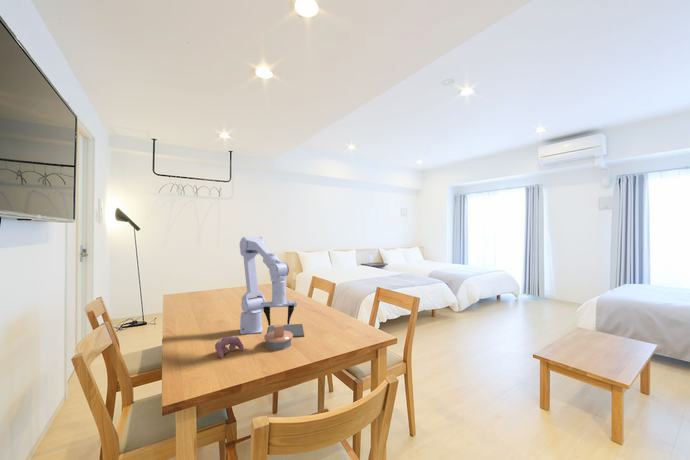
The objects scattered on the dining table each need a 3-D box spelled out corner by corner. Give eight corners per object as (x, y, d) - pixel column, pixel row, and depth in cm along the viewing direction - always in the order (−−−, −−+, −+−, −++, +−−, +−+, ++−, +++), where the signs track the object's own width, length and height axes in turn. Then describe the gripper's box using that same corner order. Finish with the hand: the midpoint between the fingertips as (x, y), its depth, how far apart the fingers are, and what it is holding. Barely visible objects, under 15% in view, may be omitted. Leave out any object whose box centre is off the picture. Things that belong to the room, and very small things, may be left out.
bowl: (265, 350, 114) (265, 343, 114) (267, 340, 124) (267, 333, 123) (291, 348, 116) (291, 341, 116) (290, 338, 126) (290, 332, 126)
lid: (263, 344, 113) (263, 333, 113) (265, 332, 124) (265, 323, 124) (293, 341, 115) (293, 331, 115) (292, 331, 126) (292, 321, 126)
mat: (267, 339, 125) (267, 337, 125) (269, 326, 140) (269, 325, 140) (304, 336, 128) (304, 335, 128) (302, 325, 143) (302, 323, 143)
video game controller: (239, 351, 116) (235, 334, 118) (245, 349, 113) (241, 331, 115) (215, 360, 108) (211, 341, 110) (221, 358, 106) (217, 339, 108)
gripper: (260, 294, 114) (260, 328, 114) (297, 293, 117) (296, 326, 117) (261, 290, 121) (261, 322, 121) (296, 289, 124) (296, 320, 124)
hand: (278, 324), depth 119 cm, fingers open, 7 cm apart
